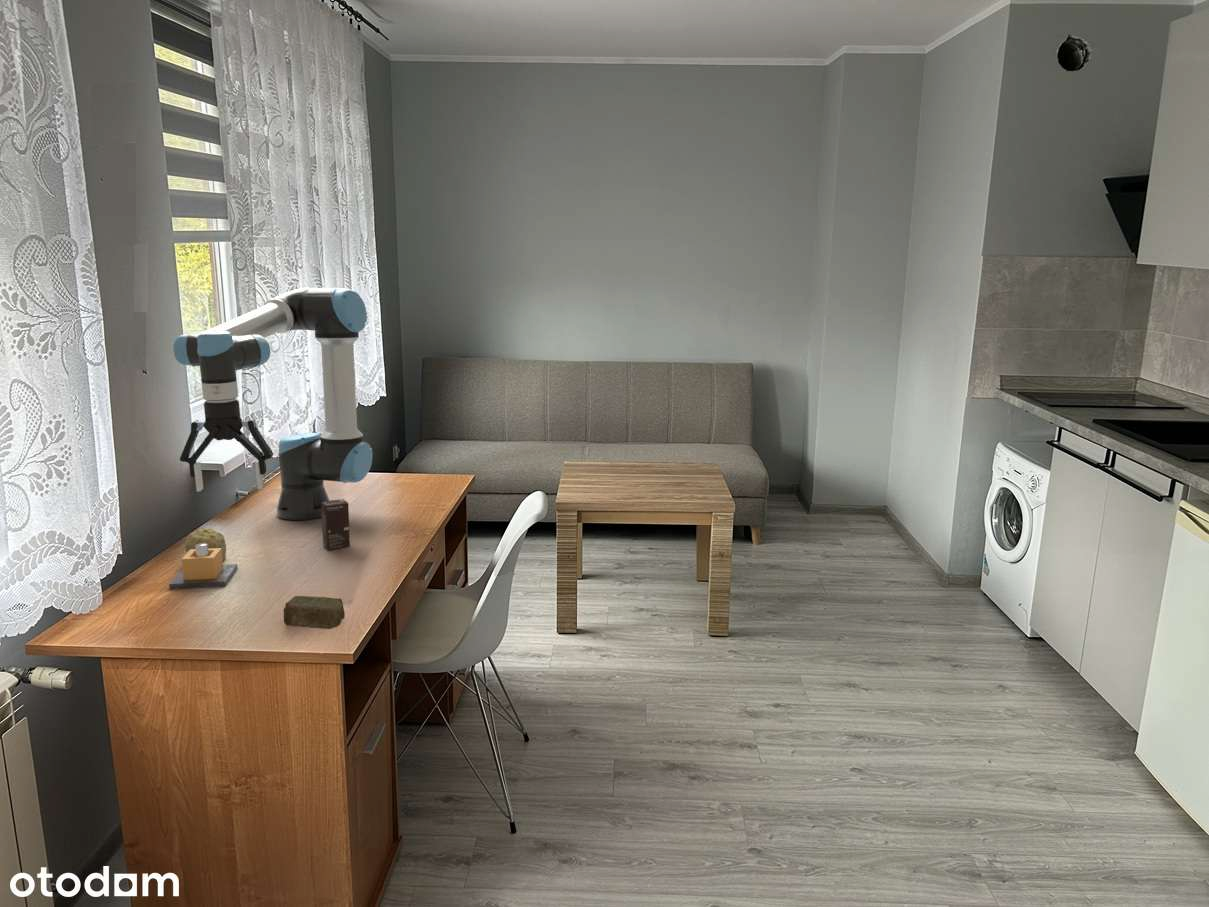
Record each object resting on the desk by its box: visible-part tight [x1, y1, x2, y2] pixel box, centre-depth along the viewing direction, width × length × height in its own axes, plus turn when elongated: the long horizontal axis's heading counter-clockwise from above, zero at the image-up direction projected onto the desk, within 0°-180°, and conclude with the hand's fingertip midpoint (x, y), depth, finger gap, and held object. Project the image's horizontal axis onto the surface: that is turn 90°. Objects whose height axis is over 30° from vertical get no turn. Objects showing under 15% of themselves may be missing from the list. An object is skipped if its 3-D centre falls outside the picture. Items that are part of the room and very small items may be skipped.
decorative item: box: [184, 527, 227, 561], centre depth 227 cm, size 10×10×10 cm
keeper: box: [168, 543, 239, 590], centre depth 214 cm, size 12×12×8 cm
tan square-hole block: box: [181, 548, 224, 580], centre depth 214 cm, size 7×7×5 cm
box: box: [321, 498, 351, 551], centre depth 236 cm, size 6×4×12 cm
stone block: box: [283, 595, 346, 630], centre depth 189 cm, size 6×12×5 cm, turn 81°
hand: (230, 489), depth 216 cm, fingers open, 13 cm apart
